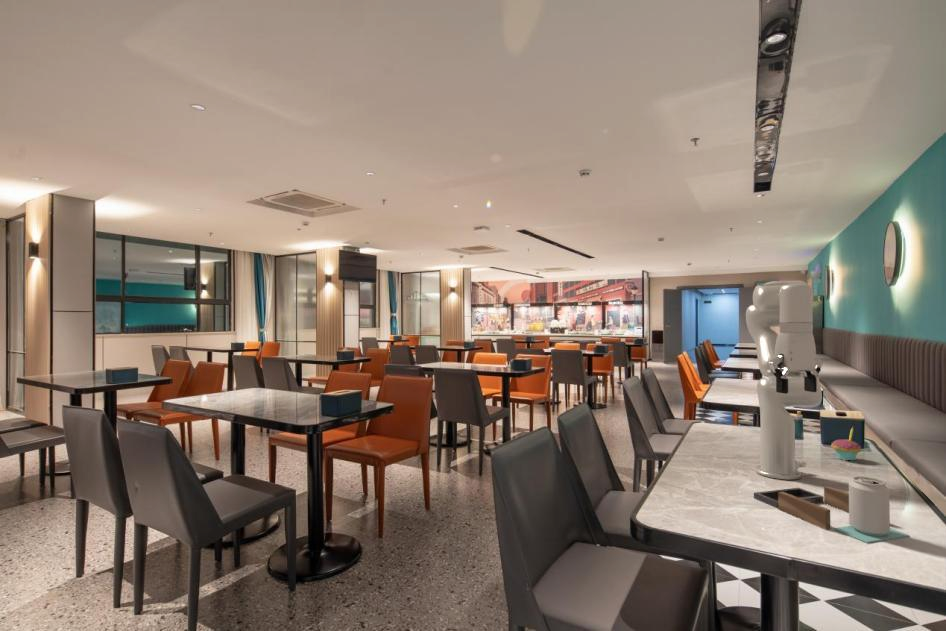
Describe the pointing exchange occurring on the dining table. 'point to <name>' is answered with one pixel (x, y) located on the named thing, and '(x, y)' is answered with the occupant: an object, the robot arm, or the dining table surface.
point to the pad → (870, 538)
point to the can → (869, 506)
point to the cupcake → (846, 448)
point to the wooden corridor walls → (814, 506)
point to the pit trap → (772, 496)
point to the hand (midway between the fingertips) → (796, 392)
